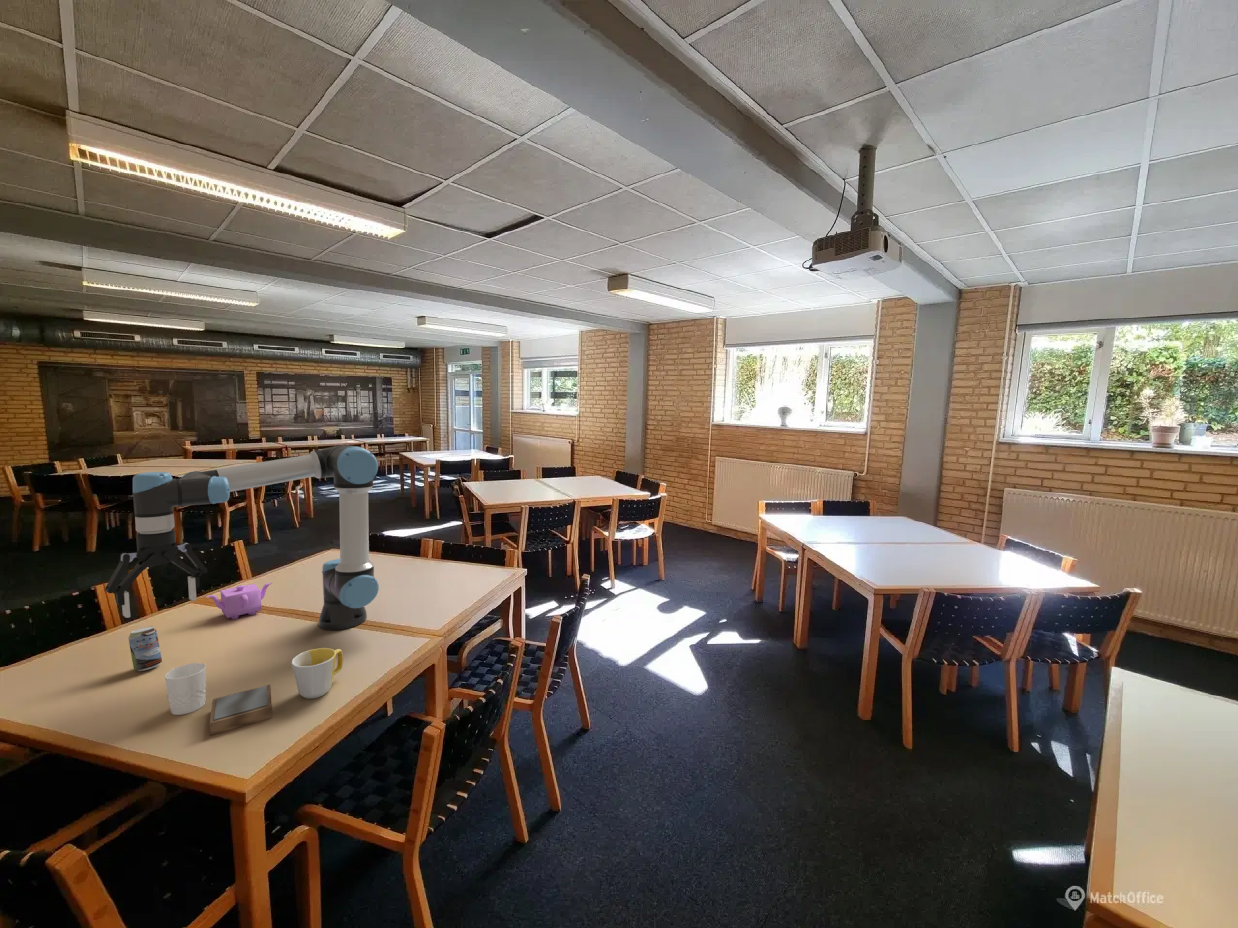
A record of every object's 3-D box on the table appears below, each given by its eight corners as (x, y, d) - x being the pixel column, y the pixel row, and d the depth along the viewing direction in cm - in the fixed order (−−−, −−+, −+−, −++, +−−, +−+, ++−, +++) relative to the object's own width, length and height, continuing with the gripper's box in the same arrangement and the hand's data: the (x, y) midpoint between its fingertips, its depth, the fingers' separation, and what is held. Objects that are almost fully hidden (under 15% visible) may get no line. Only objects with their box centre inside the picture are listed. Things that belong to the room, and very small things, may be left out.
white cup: (184, 698, 130) (181, 663, 129) (216, 697, 131) (213, 662, 130) (159, 717, 122) (155, 679, 121) (193, 716, 123) (190, 678, 122)
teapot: (239, 605, 190) (238, 578, 189) (274, 606, 190) (272, 579, 189) (206, 622, 175) (204, 593, 174) (244, 623, 175) (242, 594, 174)
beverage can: (144, 674, 141) (141, 635, 139) (124, 671, 142) (121, 632, 141) (168, 664, 147) (165, 625, 146) (149, 661, 148) (146, 623, 147)
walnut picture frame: (271, 694, 133) (270, 683, 132) (272, 717, 123) (271, 705, 123) (213, 710, 125) (212, 697, 125) (210, 735, 116) (209, 722, 116)
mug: (307, 708, 127) (305, 670, 126) (285, 696, 132) (283, 659, 131) (357, 683, 139) (355, 648, 138) (335, 673, 144) (333, 639, 143)
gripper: (207, 520, 143) (211, 590, 145) (83, 537, 121) (90, 620, 123) (218, 524, 139) (223, 596, 141) (93, 542, 117) (100, 627, 120)
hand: (161, 607), depth 132 cm, fingers open, 13 cm apart
